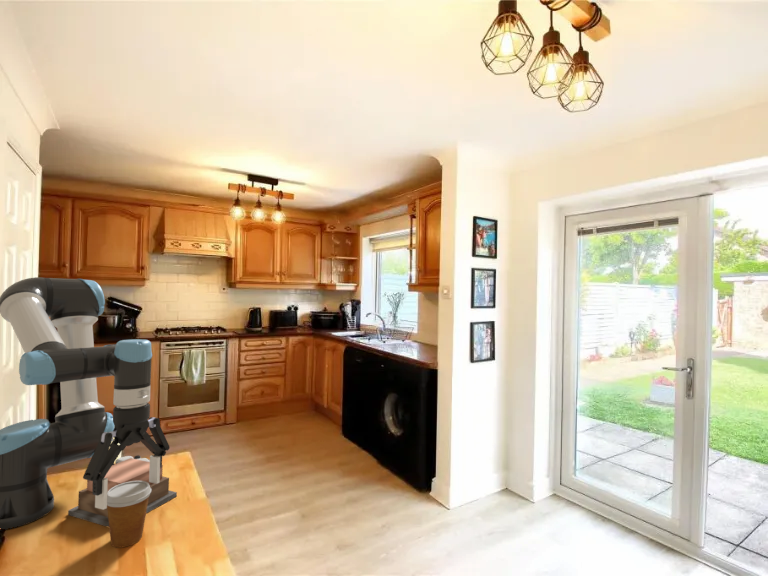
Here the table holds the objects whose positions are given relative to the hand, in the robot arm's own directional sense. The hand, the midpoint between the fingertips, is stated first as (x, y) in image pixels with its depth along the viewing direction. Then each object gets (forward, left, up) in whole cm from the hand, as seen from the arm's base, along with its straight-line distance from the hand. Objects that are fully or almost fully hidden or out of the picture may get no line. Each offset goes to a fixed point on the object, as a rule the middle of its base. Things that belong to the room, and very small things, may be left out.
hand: (129, 494), depth 96 cm
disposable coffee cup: (0, 0, -11) cm, 11 cm away
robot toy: (-33, +26, -11) cm, 44 cm away
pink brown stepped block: (-15, +11, -11) cm, 22 cm away
